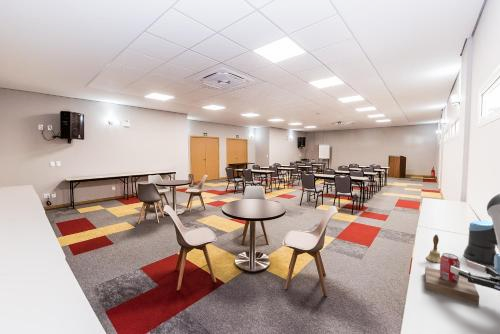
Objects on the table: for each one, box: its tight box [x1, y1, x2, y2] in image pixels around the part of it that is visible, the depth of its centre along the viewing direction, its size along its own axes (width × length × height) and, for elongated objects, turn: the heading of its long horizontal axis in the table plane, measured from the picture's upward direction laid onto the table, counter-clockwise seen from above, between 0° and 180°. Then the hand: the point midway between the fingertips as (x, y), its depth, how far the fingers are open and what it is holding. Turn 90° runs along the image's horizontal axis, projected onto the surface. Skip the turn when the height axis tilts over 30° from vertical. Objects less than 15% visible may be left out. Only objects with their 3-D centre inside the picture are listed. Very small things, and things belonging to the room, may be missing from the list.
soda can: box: [439, 252, 461, 282], centre depth 109 cm, size 7×7×12 cm
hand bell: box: [425, 234, 441, 264], centre depth 137 cm, size 8×8×16 cm
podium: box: [424, 266, 480, 306], centre depth 109 cm, size 18×18×4 cm
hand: (459, 265), depth 105 cm, fingers open, 13 cm apart
